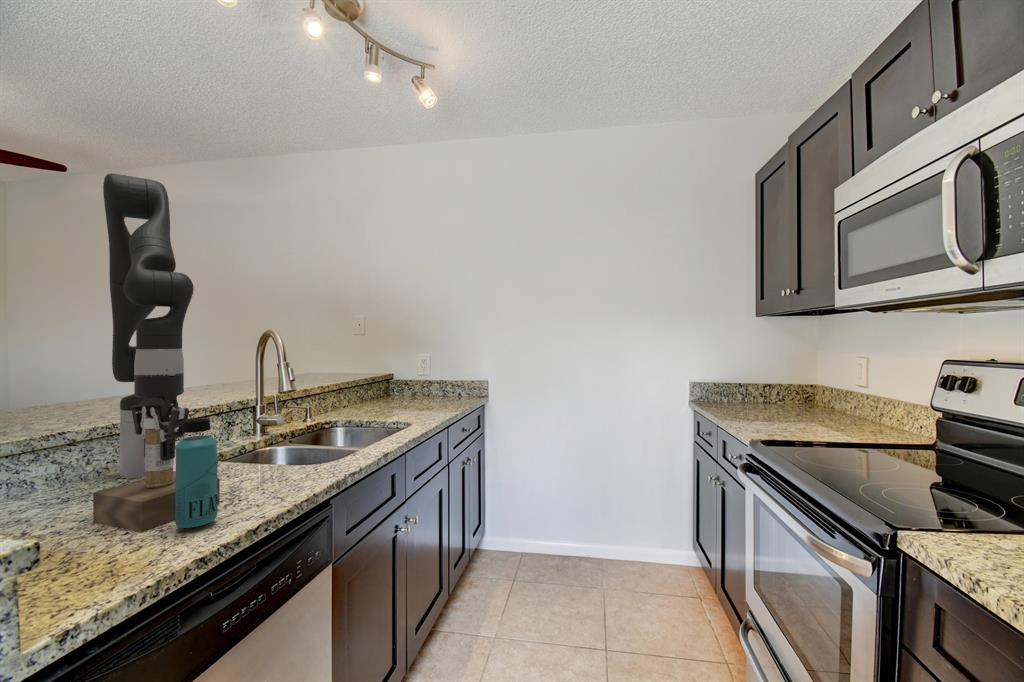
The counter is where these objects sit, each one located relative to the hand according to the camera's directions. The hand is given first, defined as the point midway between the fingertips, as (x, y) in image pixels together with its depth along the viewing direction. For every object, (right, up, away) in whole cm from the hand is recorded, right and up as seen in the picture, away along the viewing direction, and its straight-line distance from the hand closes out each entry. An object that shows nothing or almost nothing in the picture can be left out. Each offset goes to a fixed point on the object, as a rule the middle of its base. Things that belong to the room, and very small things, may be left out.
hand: (159, 457), depth 84 cm
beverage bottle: (+12, -11, -7) cm, 18 cm away
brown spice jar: (0, -6, 0) cm, 6 cm away
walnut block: (0, -11, 0) cm, 11 cm away
